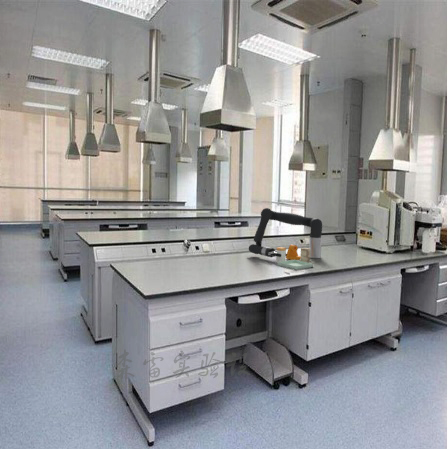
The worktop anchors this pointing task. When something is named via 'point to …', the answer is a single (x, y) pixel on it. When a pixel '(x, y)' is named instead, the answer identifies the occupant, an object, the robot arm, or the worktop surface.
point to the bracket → (292, 253)
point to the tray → (295, 264)
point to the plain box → (305, 255)
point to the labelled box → (283, 254)
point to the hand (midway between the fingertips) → (283, 255)
